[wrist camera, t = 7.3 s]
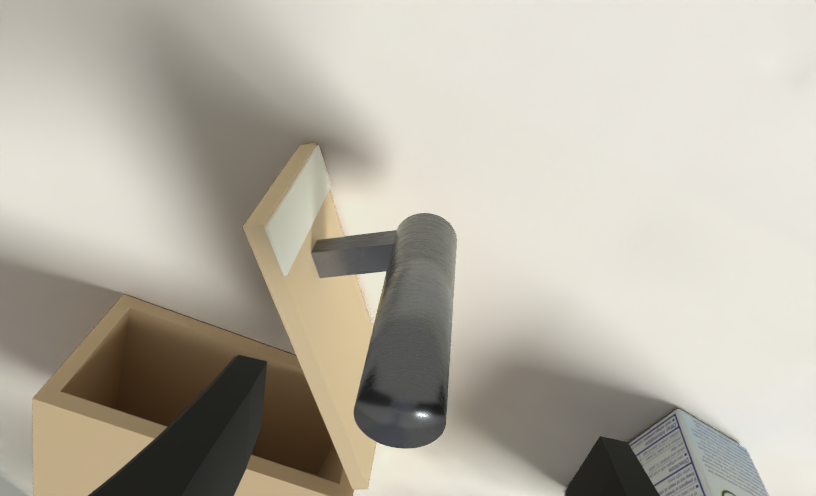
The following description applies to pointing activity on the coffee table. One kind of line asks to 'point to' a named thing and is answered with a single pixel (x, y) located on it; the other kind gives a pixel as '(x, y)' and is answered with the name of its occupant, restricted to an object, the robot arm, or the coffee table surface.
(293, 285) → the wooden box lid
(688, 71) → the coffee table surface
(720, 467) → the medicine box
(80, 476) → the carton
